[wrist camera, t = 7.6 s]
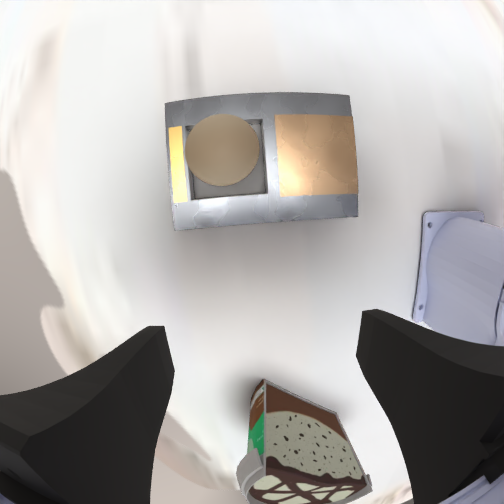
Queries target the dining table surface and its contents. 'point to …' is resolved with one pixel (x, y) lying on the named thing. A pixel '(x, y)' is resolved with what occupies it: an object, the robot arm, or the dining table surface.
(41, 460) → the robot arm
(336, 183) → the plate
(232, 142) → the peg
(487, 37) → the dining table surface
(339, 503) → the food container
